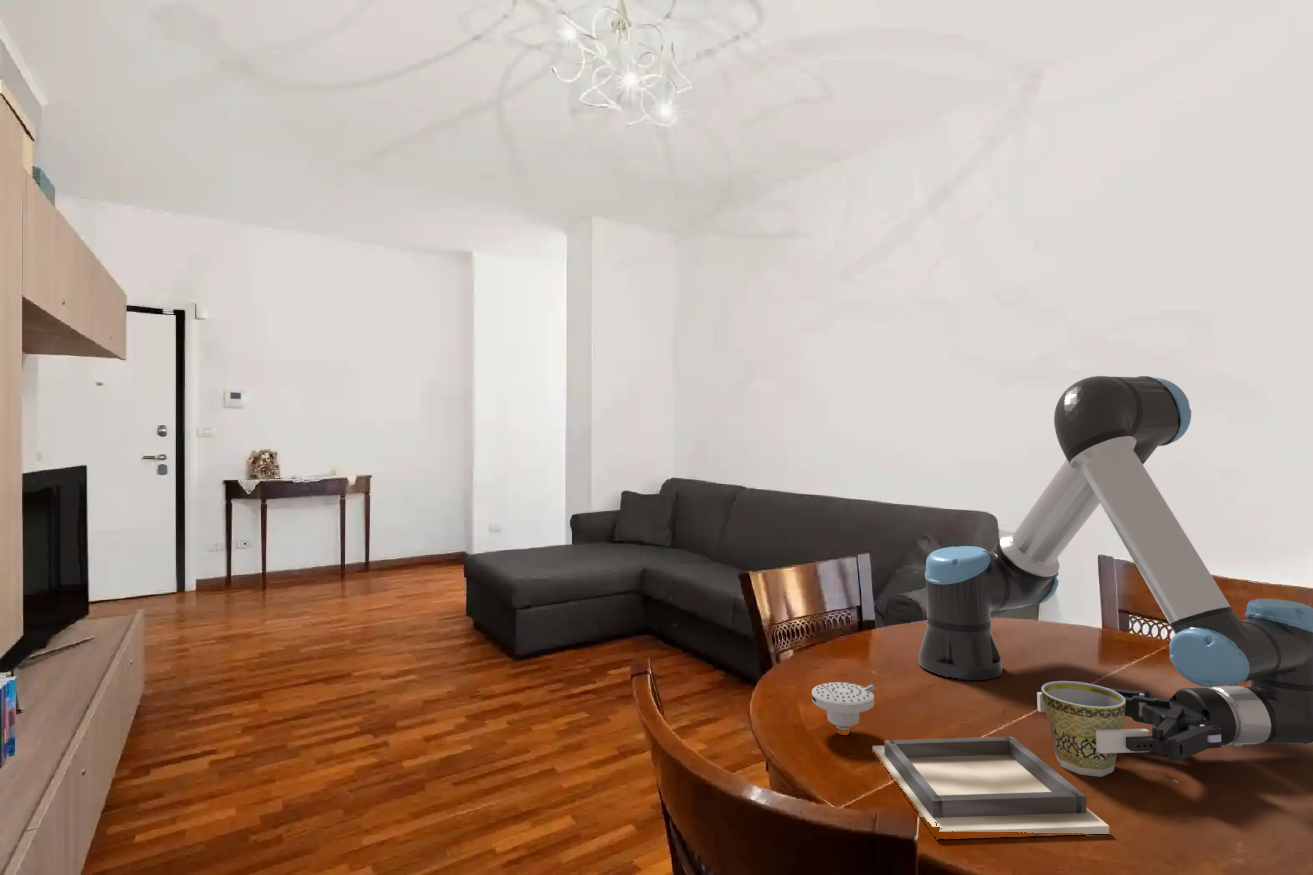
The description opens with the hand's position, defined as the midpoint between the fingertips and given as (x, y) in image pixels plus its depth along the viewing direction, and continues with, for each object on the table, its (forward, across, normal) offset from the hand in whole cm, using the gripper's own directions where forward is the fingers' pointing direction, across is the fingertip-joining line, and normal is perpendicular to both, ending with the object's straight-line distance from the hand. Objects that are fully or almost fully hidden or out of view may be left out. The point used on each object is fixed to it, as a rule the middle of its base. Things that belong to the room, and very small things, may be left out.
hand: (1066, 720), depth 95 cm
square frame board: (+16, -6, -6) cm, 18 cm away
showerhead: (+28, +12, -6) cm, 31 cm away
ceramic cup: (-3, 0, -6) cm, 7 cm away
